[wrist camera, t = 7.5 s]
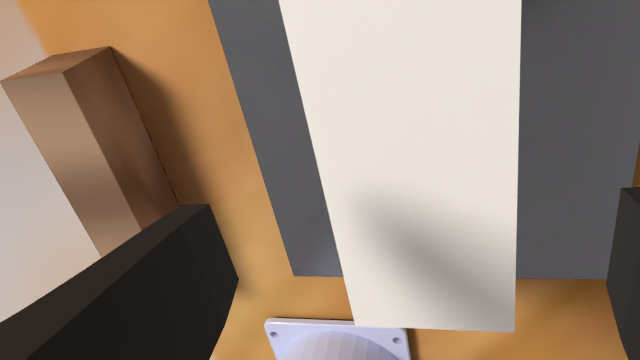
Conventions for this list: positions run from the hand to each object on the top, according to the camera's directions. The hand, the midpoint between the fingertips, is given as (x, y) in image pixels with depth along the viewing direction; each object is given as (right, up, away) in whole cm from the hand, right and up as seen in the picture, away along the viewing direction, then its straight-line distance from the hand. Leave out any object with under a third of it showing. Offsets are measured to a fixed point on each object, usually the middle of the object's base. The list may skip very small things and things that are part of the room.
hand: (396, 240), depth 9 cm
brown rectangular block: (-10, +2, +14) cm, 18 cm away
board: (+1, +4, +5) cm, 6 cm away
